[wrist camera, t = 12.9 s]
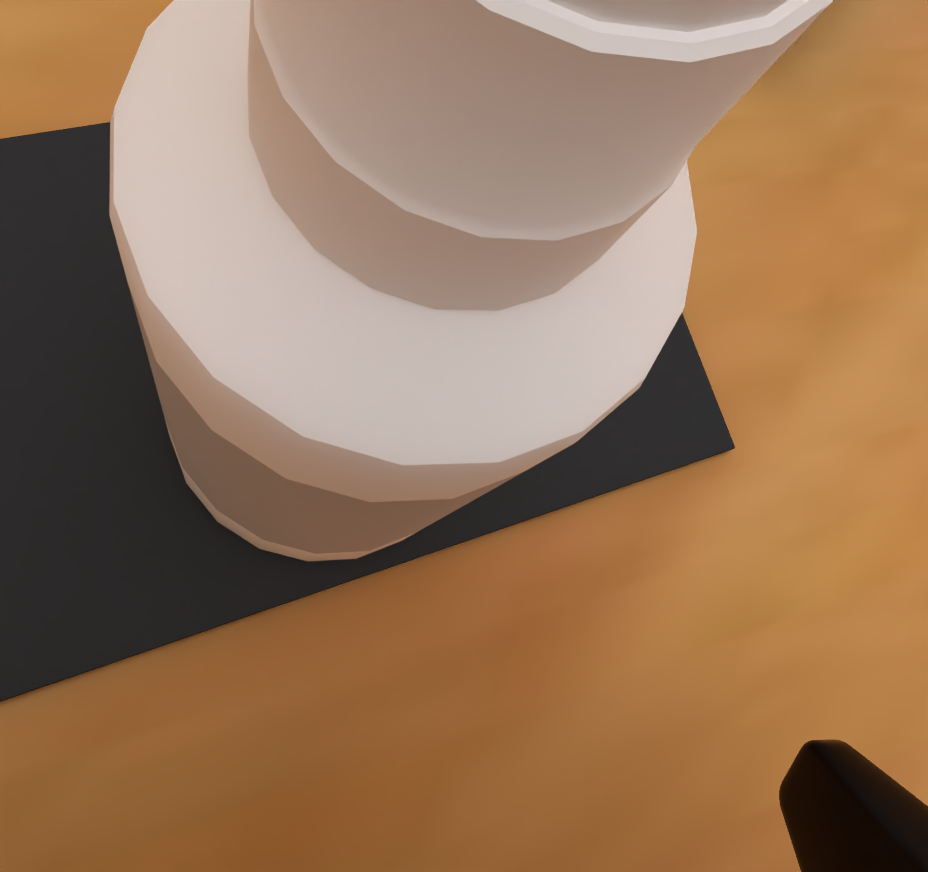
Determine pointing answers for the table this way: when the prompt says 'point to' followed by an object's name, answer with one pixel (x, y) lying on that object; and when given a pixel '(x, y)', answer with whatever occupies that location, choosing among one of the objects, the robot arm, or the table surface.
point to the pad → (154, 459)
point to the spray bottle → (410, 237)
